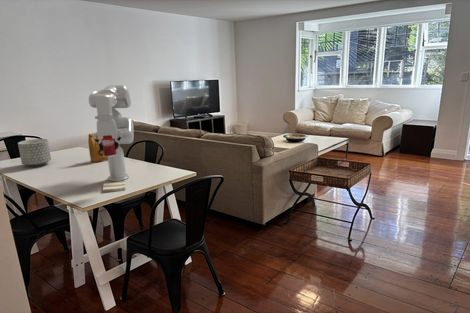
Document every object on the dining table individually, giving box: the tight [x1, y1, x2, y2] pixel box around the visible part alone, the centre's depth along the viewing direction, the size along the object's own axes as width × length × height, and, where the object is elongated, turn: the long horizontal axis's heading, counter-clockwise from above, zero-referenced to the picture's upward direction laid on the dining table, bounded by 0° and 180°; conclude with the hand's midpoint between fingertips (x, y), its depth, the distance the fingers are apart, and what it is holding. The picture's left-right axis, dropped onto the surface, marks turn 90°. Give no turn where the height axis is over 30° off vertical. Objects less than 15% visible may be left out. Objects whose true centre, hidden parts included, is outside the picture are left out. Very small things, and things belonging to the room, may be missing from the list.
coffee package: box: [87, 132, 108, 163], centre depth 250 cm, size 10×12×22 cm
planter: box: [17, 138, 52, 168], centre depth 243 cm, size 19×19×18 cm
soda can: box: [101, 135, 117, 157], centre depth 182 cm, size 7×7×12 cm
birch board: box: [102, 180, 126, 194], centre depth 191 cm, size 12×12×2 cm
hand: (109, 149), depth 183 cm, fingers closed on soda can, 7 cm apart
